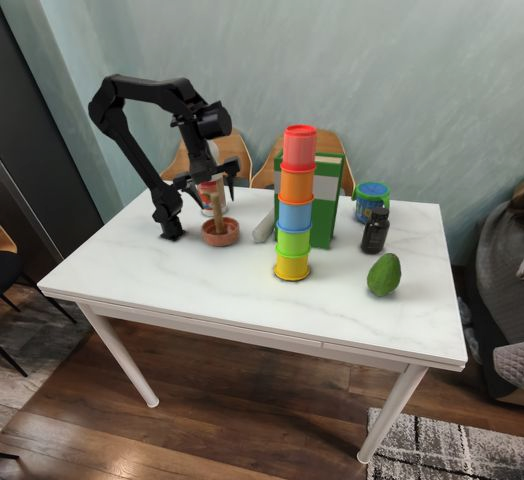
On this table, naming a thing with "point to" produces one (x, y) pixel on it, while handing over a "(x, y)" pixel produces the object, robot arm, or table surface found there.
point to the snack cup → (370, 199)
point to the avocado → (384, 275)
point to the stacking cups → (295, 202)
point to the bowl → (220, 240)
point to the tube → (264, 227)
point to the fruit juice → (212, 185)
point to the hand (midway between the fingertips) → (218, 205)
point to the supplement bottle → (375, 231)
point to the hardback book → (317, 196)
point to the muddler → (217, 214)
